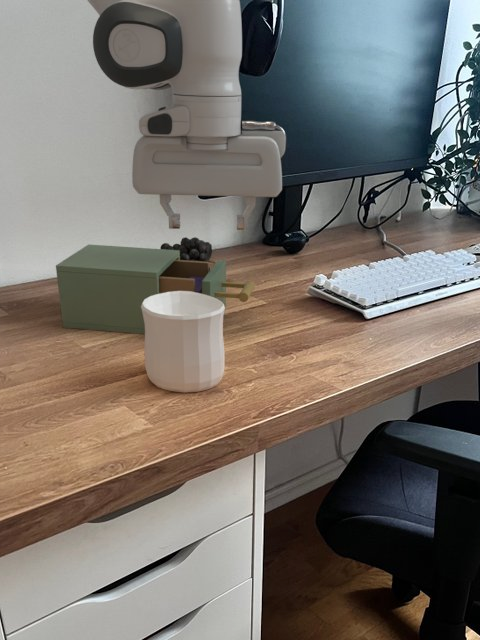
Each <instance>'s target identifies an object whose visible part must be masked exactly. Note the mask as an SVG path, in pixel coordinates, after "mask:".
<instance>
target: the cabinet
mask: <svg viewBox="0 0 480 640" xmlns="http://www.w3.org/2000/svg"><path fill="white" fill-rule="evenodd" d="M175 260H180V251H179V250H165V249H160V248H149V247H133V246H119V245H118V246H117V245H104V244H89V243H88V244H87V245H85V246H84V247H82V248H80V249H79V250H77V251H76V252H74V253H73V254H71V255H70V256H68V257H67V258H65V259H63V260H62V261H61V262H59V263H57V264H56V265H55V272H56V279H57V289H58V296H59V305H60V315H61V321H62V328H64V329H77V330H90V331H100V332H102V331H104V332H114V333H127V334H138V335H145V323H144V318H143V313H142V309H141V305H142V303H143V301H144V300H145V299H146V298H148V297H150V296H153V295H156V294H159V276H160V275H161V274H162V273H163V272H164V271H165V270H166V269H167V268H168V267H169V266H170V265H171V264H172V263H173V262H174V261H175Z"/></svg>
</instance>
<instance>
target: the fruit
mask: <svg viewBox="0 0 480 640" xmlns="http://www.w3.org/2000/svg"><path fill="white" fill-rule="evenodd" d="M159 247H160V248H159V249H165V250H179V251H180V260H188V261H203V262H209V264H210V263H211V264H216V261H215V260H210V259H211V257H212V255H213V246H212V244H211V243H210V242H209V241H204V240H202V239H200V238H199V237H195V236H194V237H191V238H188V237H187V236H186V237H182V238H181V241H180V243H175V244H173V245H170V244H169V243H168V242H164V243H162V244H161V245H160V246H159ZM210 270H211V268H210V267H209V272H210Z"/></svg>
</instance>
